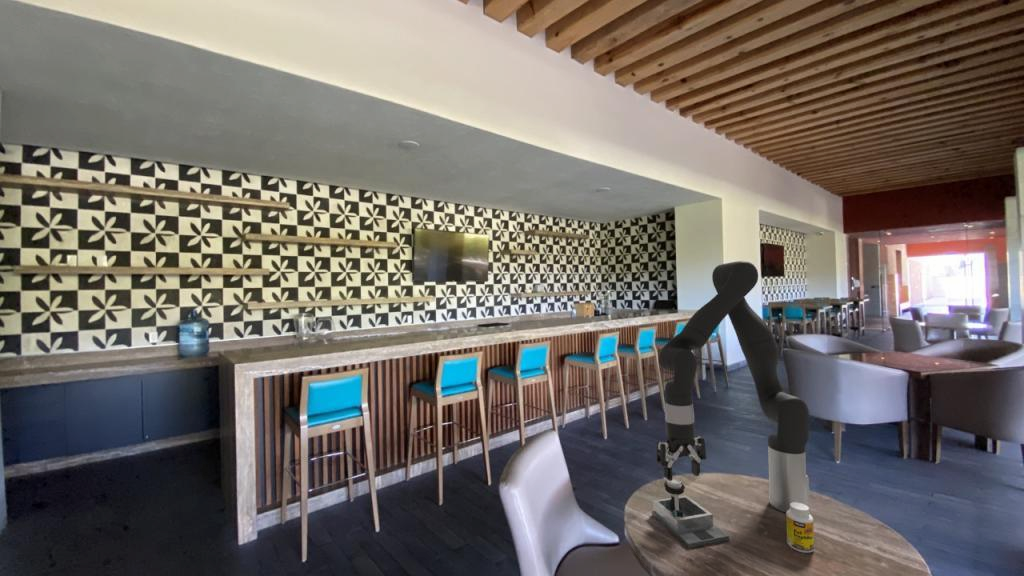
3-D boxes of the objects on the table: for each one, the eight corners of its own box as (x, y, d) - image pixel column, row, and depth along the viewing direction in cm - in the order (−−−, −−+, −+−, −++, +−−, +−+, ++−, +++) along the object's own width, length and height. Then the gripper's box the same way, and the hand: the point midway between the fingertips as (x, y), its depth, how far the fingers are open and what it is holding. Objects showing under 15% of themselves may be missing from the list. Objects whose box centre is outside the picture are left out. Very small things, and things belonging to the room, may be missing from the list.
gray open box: (687, 509, 121) (687, 494, 121) (728, 540, 105) (728, 524, 105) (651, 515, 118) (651, 500, 118) (688, 548, 102) (688, 531, 103)
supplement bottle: (791, 552, 100) (790, 510, 101) (783, 538, 106) (782, 499, 106) (818, 555, 99) (816, 513, 99) (809, 542, 104) (808, 502, 104)
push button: (690, 525, 110) (688, 488, 110) (670, 525, 111) (668, 488, 111) (682, 512, 117) (680, 477, 117) (663, 512, 117) (661, 477, 117)
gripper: (692, 412, 120) (694, 468, 119) (649, 418, 116) (651, 475, 116) (710, 419, 112) (713, 479, 112) (665, 426, 109) (668, 487, 109)
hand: (682, 477), depth 114 cm, fingers open, 8 cm apart
